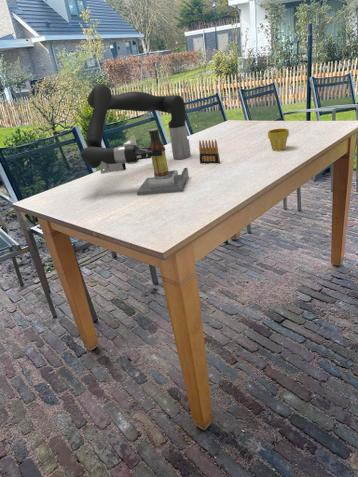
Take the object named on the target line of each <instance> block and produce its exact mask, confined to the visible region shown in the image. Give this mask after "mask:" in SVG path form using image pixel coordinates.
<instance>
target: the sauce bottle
mask: <svg viewBox="0 0 358 477" xmlns="http://www.w3.org/2000/svg"><path fill="white" fill-rule="evenodd" d="M159 133H160V130H159V129H158V128H151V129H149V130H148V134H149V138H150V145H149V146H150V151H157V150H161V151H162V156H153V157H151V158H150V159H151V160H152V168H153V174H154V173H155V175H156V176H159V177H161V176H166V175H167V174H168V171H169V167H168V161H167V156H166V148H165V149H164V147H165V146H164V144H163V142H162V141H161V138H160V134H159Z"/></svg>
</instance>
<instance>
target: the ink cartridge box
mask: <svg viewBox="0 0 358 477" xmlns="http://www.w3.org/2000/svg"><path fill="white" fill-rule="evenodd" d="M127 145H136V146H137V147H138V145H137V140H136V136H135V134H133V135H131V136H130V137H129V140H127V141H126V142H124V143H123V146H127ZM136 163H137V162H134V163H133V164H136ZM127 164H128V165H129V164H130V165H131V164H132V163H127Z"/></svg>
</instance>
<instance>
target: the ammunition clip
mask: <svg viewBox="0 0 358 477" xmlns="http://www.w3.org/2000/svg"><path fill="white" fill-rule="evenodd" d="M198 144H199V145H198V147H199V148H198V150H199V151H198V152H199V163H200V164H204V163H205V164H209V163H219V164H220V163H221V160H220V158H221V157H220V153H219V146H218V142H217V140H216V139H214V140H213V139H211V141H210V139H208V140H207V139H205V141H204V139H202V141H201V140H200V139H199V141H198ZM205 164H204V165H205ZM209 165H210V164H209Z"/></svg>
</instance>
